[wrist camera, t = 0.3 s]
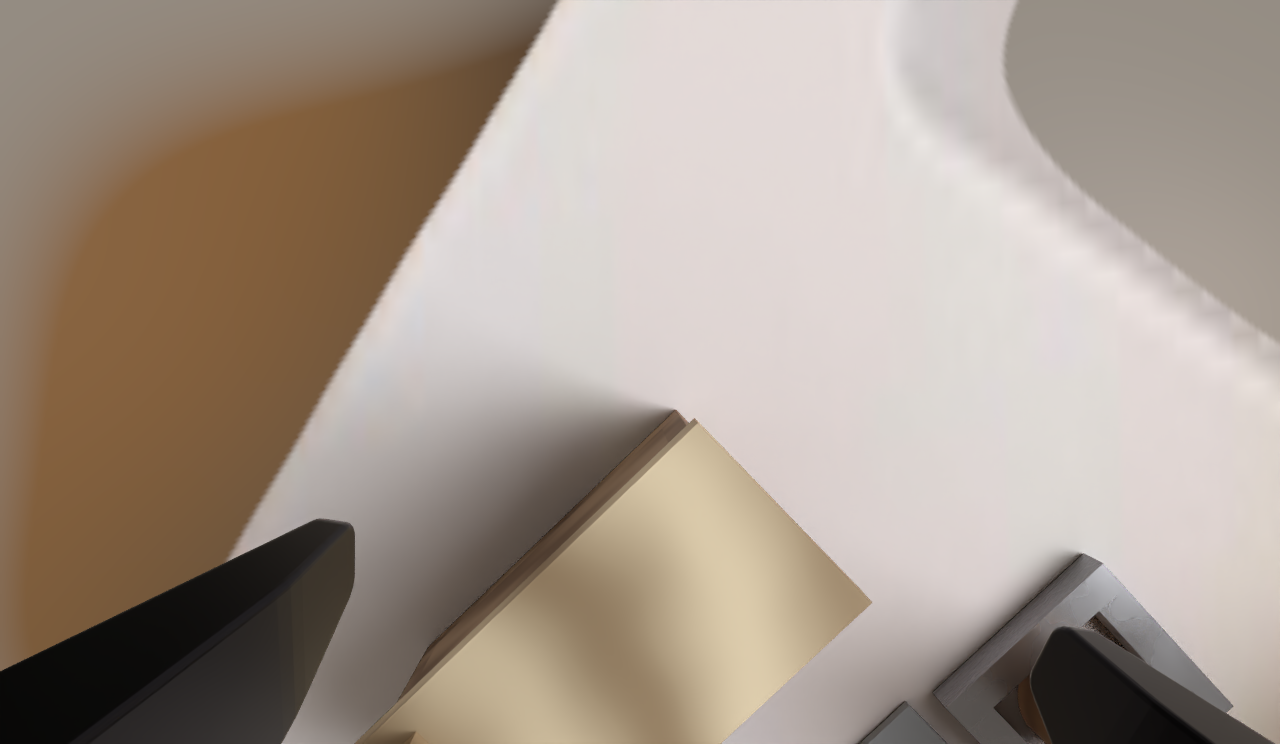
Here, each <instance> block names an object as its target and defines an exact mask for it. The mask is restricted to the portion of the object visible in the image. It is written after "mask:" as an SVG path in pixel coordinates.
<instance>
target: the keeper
mask: <svg viewBox="0 0 1280 744" xmlns="http://www.w3.org/2000/svg"><path fill="white" fill-rule="evenodd" d="M1094 615H1095V616H1096V617H1097V618H1098V619H1099V620H1100V621H1101V622H1102V624H1103V625H1104V626H1105V627H1106V628H1107V629H1108V630H1109V631H1110V632H1111V633H1112V634H1113V635H1114V637H1115V638H1116V639H1117V640H1118V641H1119V642H1120V643H1121V644H1122V645H1123V646H1124V647H1125V648H1126V650H1127V651H1128V652H1129V653H1131V654H1133V655H1134V656H1136V657H1137V658H1139V659H1141V660H1142V661H1144V662H1145V663H1147V664H1149V665H1150V666H1152V667H1153V668H1155V669H1157V670H1158V671H1160V672H1161V673H1163V674H1164V675H1166V676H1168V677H1169V678H1171V679H1172V680H1174V681H1176V682H1177V683H1179V684H1180V685H1182V686H1184V687H1185V688H1187V689H1188V690H1190V691H1192V692H1193V693H1195V694H1196V695H1198V696H1200V697H1201V698H1203V699H1204V700H1206V701H1208V702H1209V703H1211V704H1212V705H1214V706H1216V707H1217V708H1219V709H1220V710H1222V711H1224V712H1225V713H1226V712H1227V711H1229V710H1230V709H1231V708H1232V707H1233V705H1232V704H1231V703H1230V702H1229V701H1228V700H1227V699H1226V697H1225V696H1224V695H1223V694H1222V693H1221V692H1220V691H1219V690H1218V689H1217V688H1216V687H1215V685H1214V684H1213V683H1212V682H1211V681H1210V680H1209V679H1208V678H1207V677H1206V676H1205V674H1204V673H1203V672H1202V671H1201V670H1200V669H1199V668H1198V667H1197V666H1196V665H1195V663H1194V662H1193V661H1192V660H1191V659H1190V658H1189V657H1188V656H1187V655H1186V654H1185V653H1184V651H1183V650H1182V649H1181V648H1180V647H1179V646H1178V645H1177V644H1176V643H1175V642H1174V640H1173V639H1172V638H1171V637H1170V636H1169V635H1168V634H1167V633H1166V632H1165V631H1164V629H1163V628H1162V627H1161V626H1160V625H1159V624H1158V623H1157V622H1156V621H1155V620H1154V618H1153V617H1152V616H1151V615H1150V614H1149V613H1148V612H1147V611H1146V610H1145V609H1144V608H1143V606H1142V605H1141V604H1140V603H1139V602H1138V601H1137V600H1136V599H1135V598H1134V597H1133V595H1132V594H1131V593H1130V592H1129V591H1128V590H1127V589H1126V588H1125V587H1124V586H1123V584H1122V583H1121V582H1120V581H1119V580H1118V579H1117V578H1116V577H1115V576H1114V575H1113V573H1112V572H1111V571H1110V570H1109V569H1108V568H1107V567H1106V566H1105V565H1104V564H1103V563H1102V562H1100V561H1098V560H1096V559H1094V558H1092V557H1090V556H1088V555H1086V554H1084V553H1083V554H1082V555H1081V556H1080V557H1079V558H1078V559H1077V560H1076V561H1075V562H1074V563H1073V564H1071V565H1070V566H1069V567H1068V568H1067V569H1066V570H1065V571H1064V572H1063V573H1062V574H1061V575H1060V576H1058V577H1057V578H1056V579H1055V580H1054V581H1053V582H1052V583H1051V584H1050V585H1049V586H1048V587H1046V588H1045V589H1044V590H1043V591H1042V592H1041V593H1040V594H1039V595H1038V596H1037V597H1036V598H1035V599H1033V600H1032V601H1031V602H1030V603H1029V604H1028V605H1027V606H1026V607H1025V608H1024V609H1023V610H1021V611H1020V612H1019V613H1018V614H1017V615H1016V616H1015V617H1014V618H1013V619H1012V620H1011V621H1010V622H1008V623H1007V624H1006V625H1005V626H1004V627H1003V628H1002V629H1001V630H1000V631H999V632H998V633H997V634H995V635H994V636H993V637H992V638H991V639H990V640H989V641H988V642H987V643H986V644H985V645H983V646H982V647H981V648H980V649H979V650H978V651H977V652H976V653H975V654H974V655H973V656H972V657H970V658H969V659H968V660H967V661H966V662H965V663H964V664H963V665H962V666H961V667H960V668H958V669H957V670H956V671H955V672H954V673H953V674H952V675H951V676H950V677H949V678H948V679H947V680H945V681H944V682H943V683H942V684H941V685H940V686H939V687H938V688H937V689H936V690H935V691H933V694H934V695H935V696H936V697H937V698H938V700H939V701H940V702H941V703H942V704H943V705H944V707H945V708H946V709H947V710H948V711H949V712H950V713H951V714H952V715H953V716H954V717H955V718H956V719H957V720H958V721H959V722H960V723H961V724H962V725H963V726H964V727H965V728H966V729H967V730H968V731H969V733H970V734H971V735H972V736H973V737H974V738H975V739H976V740H977V741H978V742H979V743H980V744H1028V743H1027V742H1026V741H1025V740H1024V739H1023V738H1022V737H1021V736H1020V735H1019V734H1018V733H1017V732H1016V731H1015V730H1014V729H1013V728H1012V727H1011V726H1010V725H1009V724H1008V723H1007V722H1006V721H1005V719H1004V718H1003V717H1002V716H1001V715H1000V714H999V713H998V712H997V711H996V710H995V709H994V707H995V706H996V705H997V704H998V703H999V702H1000V701H1001V700H1002V699H1003V698H1004V697H1006V696H1007V695H1008V694H1009V693H1010V692H1011V691H1012V690H1013V689H1014V688H1015V687H1016V686H1018V685H1019V684H1020V683H1021V682H1022V681H1023V680H1024V679H1025V678H1026V677H1027V676H1029V675H1030V674H1031V671H1032V668H1033V666H1034V664H1035V662H1036V660H1037V658H1038V657H1039V655H1040V653H1041V651H1042V649H1043V647H1044V645H1045V643H1046V641H1047V639H1048V637H1049V635H1050V634H1051V632H1052V631H1053V630H1054V629H1055V628H1057V627H1059V626H1071V627H1078V628H1081V627H1082V626H1083V625H1084V624H1085V623H1086V622H1087V621H1089V620H1090V619H1091V618H1092V617H1093V616H1094Z"/></svg>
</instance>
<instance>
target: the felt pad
mask: <svg viewBox="0 0 1280 744" xmlns="http://www.w3.org/2000/svg"><path fill="white" fill-rule="evenodd" d="M860 744H947V743H946V742H945V741H944V740H943V739H942V738H941V737H940V736H939V735H938V734H937V733H936V732H935V731H934V730H933V729H932V728H931V727H930V726H929V725H928V723H927V722H926V721H925V720H924V719H923V718H922V717H921V716H920V715H919V714H918V713H917V712H916V711H915V710H914V709H913V708H912V707H911V706H910V705H909V704H908V703H907V702H906V701H905V702H904V703H903V704H902V705H901V706H900V707H899V708H898V709H896V710H895V711H894V712H893V713H892V714H891V715H890V716H889V717H888V718H887V719H886V720H885V721H883V722H882V723H881V724H880V725H879V726H878V727H877V728H876V729H875V730H874V731H873V732H871V733H870V734H869V735H868V736H867V737H866V738H865V739H864V740H863V741H862V742H861V743H860Z"/></svg>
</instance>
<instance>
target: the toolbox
mask: <svg viewBox="0 0 1280 744" xmlns="http://www.w3.org/2000/svg"><path fill="white" fill-rule="evenodd" d="M688 424H689V423H688V422H687V421H686V419H685V418H684V417H683V416H682V415H681V414H680V413H679V412H678V411H677V410H675V411H674V412H673V413H672V414H671V415H670V416H669V417H668V418H667V419H666V420H665V421H664V422H662V423H661V424H660V425H659V426H658V427H657V428H656V429H655V430H654V431H653V432H652V433H651V434H650V435H649V436H648V437H647V438H646V439H645V440H644V441H643V442H642V443H641V444H640V445H638V446H637V447H636V448H635V449H634V450H633V451H632V452H631V453H630V454H629V455H628V456H627V457H626V458H625V459H624V460H623V461H622V462H621V463H620V464H619V465H618V466H617V467H616V468H614V469H613V470H612V471H611V472H610V473H609V474H608V475H607V476H606V477H605V478H604V479H603V480H602V481H601V482H600V483H599V484H598V485H597V486H596V487H595V488H594V489H593V490H592V491H590V492H589V493H588V494H587V495H586V496H585V497H584V498H583V499H582V500H581V501H580V502H579V503H578V504H577V505H576V506H575V507H574V508H573V509H572V510H571V511H570V512H569V513H568V514H566V515H565V516H564V517H563V518H562V519H561V520H560V521H559V522H558V523H557V524H556V525H555V526H554V527H553V528H552V529H551V530H550V531H549V532H548V533H547V534H546V535H545V536H544V537H542V538H541V539H540V540H539V541H538V542H537V543H536V544H535V545H534V546H533V547H532V548H531V549H530V550H529V551H528V552H527V553H526V554H525V555H524V556H523V557H522V558H521V559H520V560H518V561H517V562H516V563H515V564H514V565H513V566H512V567H511V568H510V569H509V570H508V571H507V572H506V573H505V574H504V575H503V576H502V577H501V578H500V579H499V580H498V581H497V582H496V583H494V584H493V585H492V586H491V587H490V588H489V589H488V590H487V591H486V592H485V593H484V594H483V595H482V596H481V597H480V598H479V599H478V600H477V601H476V602H475V603H474V604H473V605H472V606H471V607H469V608H468V609H467V610H466V611H465V612H464V613H463V614H462V615H461V616H460V617H459V618H458V619H457V620H456V621H455V622H454V623H453V624H452V625H451V626H450V627H449V628H448V629H447V630H445V631H444V632H443V633H442V634H441V635H440V636H439V637H438V638H437V639H436V640H435V641H434V642H433V643H432V644H431V645H430V646H429V647H428V648H427V650H426V652H425V653H424V655H423V657H422V659H421V660H420V662H419V664H418V666H417V668H416V669H415V671H414V673H413V675H412V676H411V678H410V680H409V682H408V684H407V685H406V687H405V689H404V691H403V692H402V694H401V696H400V698H399V699H398V701H399V700H400V699H401V698H402V697H403V696H404V695H406V694H407V693H408V692H409V691H410V690H411V689H412V688H413V687H414V686H415V685H416V684H417V683H418V682H419V681H420V680H421V679H422V678H423V677H424V676H425V675H426V674H427V673H429V672H430V671H431V670H432V669H433V668H434V667H435V666H436V665H437V664H438V663H439V662H440V661H441V660H442V659H443V658H444V657H445V656H446V655H447V654H448V653H449V652H450V651H452V650H453V649H454V648H455V647H456V646H457V645H458V644H459V643H460V642H461V641H462V640H463V639H464V638H465V637H466V636H467V635H468V634H469V633H470V632H471V631H472V630H473V629H475V628H476V627H477V626H478V625H479V624H480V623H481V622H482V621H483V620H484V619H485V618H486V617H487V616H488V615H489V614H490V613H491V612H492V611H493V610H494V609H495V608H496V607H498V606H499V605H500V604H501V603H502V602H503V601H504V600H505V599H506V598H507V597H508V596H509V595H510V594H511V593H512V592H513V591H514V590H515V589H516V588H517V587H518V586H519V585H521V584H522V583H523V582H524V581H525V580H526V579H527V578H528V577H529V576H530V575H531V574H532V573H533V572H534V571H535V570H536V569H537V568H538V567H539V566H540V565H541V564H542V563H544V562H545V561H546V560H547V559H548V558H549V557H550V556H551V555H552V554H553V553H554V552H555V551H556V550H557V549H558V548H559V547H560V546H561V545H562V544H563V543H564V542H565V541H567V540H568V539H569V538H570V537H571V536H572V535H573V534H574V533H575V532H576V531H577V530H578V529H579V528H580V527H581V526H582V525H583V524H584V523H585V522H586V521H587V520H588V519H590V518H591V517H592V516H593V515H594V514H595V513H596V512H597V511H598V510H599V509H600V508H601V507H602V506H603V505H604V504H605V503H606V502H607V501H608V500H609V499H610V498H611V497H613V496H614V495H615V494H616V493H617V492H618V491H619V490H620V489H621V488H622V487H623V486H624V485H625V484H626V483H627V482H628V481H629V480H630V479H631V478H632V477H633V476H634V475H635V474H637V473H638V472H639V471H640V470H641V469H642V468H643V467H644V466H645V465H646V464H647V463H648V462H649V461H650V460H651V459H652V458H653V457H654V456H655V455H656V454H657V453H658V452H660V451H661V450H662V449H663V448H664V447H665V446H666V445H667V444H668V443H669V442H670V441H671V440H672V439H673V438H674V437H675V436H676V435H677V434H678V433H679V432H680V431H681V430H683V429H684V428H685V427H686V426H687V425H688ZM398 701H397V702H398Z"/></svg>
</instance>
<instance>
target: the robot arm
mask: <svg viewBox="0 0 1280 744" xmlns="http://www.w3.org/2000/svg"><path fill="white" fill-rule="evenodd" d="M354 576H355V532H354V528H353V526H352V525H351V524H350V523H348V522H343V521H336V520H329V519H316V520H313V521H311V522H309V523H307V524H305V525H302V526H300V527H298V528H296V529H294V530H292V531H290V532H288V533H286V534H284V535H282V536H280V537H278V538H276V539H273V540H271V541H269V542H267V543H265V544H263V545H261V546H259V547H257V548H255V549H253V550H251V551H249V552H247V553H244V554H242V555H240V556H238V557H236V558H234V559H232V560H230V561H228V562H226V563H224V564H222V565H220V566H218V567H216V568H213V569H211V570H209V571H207V572H205V573H203V574H201V575H199V576H197V577H195V578H193V579H191V580H189V581H186V582H184V583H183V584H180V585H178V586H176V587H174V588H172V589H170V590H168V591H166V592H164V593H162V594H160V595H158V596H155V597H153V598H151V599H149V600H147V601H145V602H143V603H141V604H139V605H137V606H135V607H133V608H131V609H128V610H126V611H124V612H122V613H120V614H118V615H116V616H114V617H112V618H110V619H108V620H106V621H104V622H102V623H99V624H97V625H96V626H93V627H91V628H89V629H87V630H85V631H83V632H81V633H79V634H77V635H75V636H73V637H70V638H68V639H66V640H64V641H62V642H60V643H58V644H56V645H54V646H52V647H50V648H48V649H46V650H44V651H41V652H39V653H38V654H35V655H33V656H31V657H29V658H27V659H25V660H23V661H21V662H19V663H17V664H15V665H12V666H11V667H8V668H6V669H4V670H2V671H0V744H281V743H282V741H283V740H284V738H285V736H286V734H287V732H288V730H289V729H290V727H291V725H292V723H293V721H294V719H295V718H296V716H297V713H298V711H299V709H300V707H301V705H302V703H303V701H304V699H305V696H306V694H307V692H308V690H309V687H310V685H311V683H312V681H313V678H314V676H315V674H316V672H317V670H318V667H319V665H320V663H321V661H322V658H323V656H324V654H325V652H326V649H327V647H328V645H329V643H330V640H331V638H332V636H333V634H334V631H335V629H336V627H337V625H338V622H339V620H340V618H341V616H342V613H343V611H344V609H345V607H346V605H347V602H348V600H349V598H350V595H351V592H352V589H353V584H354ZM1030 687H1031V692H1032V695H1033V697H1034V700H1035V702H1036V705H1037V708H1038V710H1039V713H1040V715H1041V718H1042V720H1043V723H1044V726H1045V728H1046V731H1047V733H1048V736H1049V738H1050V741H1051V744H1275V743H1273V742H1271V741H1270V740H1268V739H1267V738H1265V737H1263V736H1262V735H1260V734H1259V733H1257V732H1255V731H1254V730H1252V729H1251V728H1249V727H1247V726H1246V725H1244V724H1243V723H1241V722H1239V721H1238V720H1236V719H1235V718H1233V717H1232V716H1230V715H1228V714H1227V713H1225V712H1224V711H1222V710H1220V709H1219V708H1217V707H1216V706H1214V705H1212V704H1211V703H1209V702H1208V701H1206V700H1204V699H1203V698H1201V697H1200V696H1198V695H1196V694H1195V693H1193V692H1192V691H1190V690H1188V689H1187V688H1185V687H1184V686H1182V685H1180V684H1179V683H1177V682H1176V681H1174V680H1172V679H1171V678H1169V677H1168V676H1166V675H1164V674H1163V673H1161V672H1160V671H1158V670H1157V669H1155V668H1153V667H1152V666H1150V665H1149V664H1147V663H1145V662H1144V661H1142V660H1141V659H1139V658H1137V657H1136V656H1134V655H1133V654H1131V653H1129V652H1128V651H1126V650H1125V649H1123V648H1121V647H1120V646H1118V645H1117V644H1115V643H1113V642H1112V641H1110V640H1109V639H1107V638H1105V637H1104V636H1102V635H1101V634H1099V633H1097V632H1095V631H1093V630H1090V629H1085V628H1078V627H1071V626H1059V627H1057V628H1055V629H1054V630H1053V631H1052V632H1051V634H1050V635H1049V637H1048V639H1047V641H1046V643H1045V645H1044V647H1043V649H1042V651H1041V653H1040V655H1039V657H1038V658H1037V660H1036V662H1035V664H1034V666H1033V668H1032V671H1031V674H1030Z"/></svg>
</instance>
